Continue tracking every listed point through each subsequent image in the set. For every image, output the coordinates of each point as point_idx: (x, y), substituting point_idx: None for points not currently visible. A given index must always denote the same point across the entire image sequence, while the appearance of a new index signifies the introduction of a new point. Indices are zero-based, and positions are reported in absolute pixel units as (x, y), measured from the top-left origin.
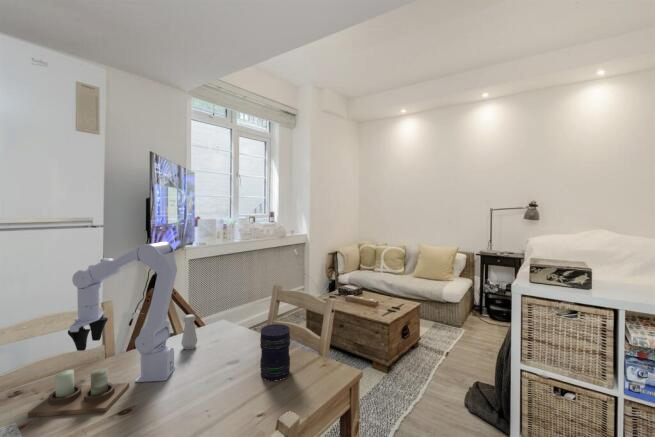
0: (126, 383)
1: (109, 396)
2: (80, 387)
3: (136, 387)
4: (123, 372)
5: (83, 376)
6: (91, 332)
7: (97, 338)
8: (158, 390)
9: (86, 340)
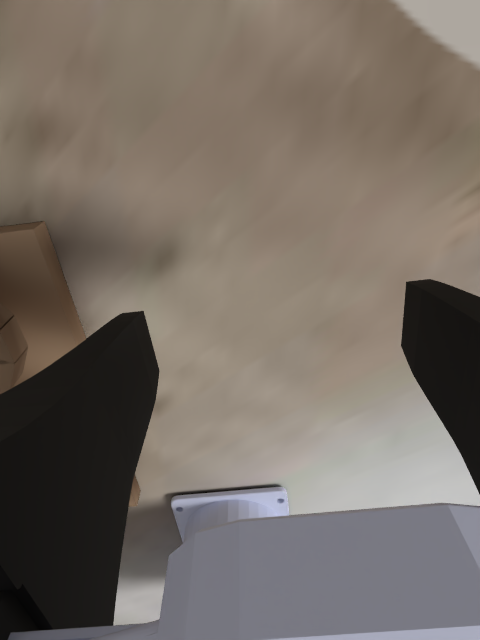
0: (130, 499)
1: None
2: (2, 391)
3: (140, 512)
4: (263, 407)
5: (213, 221)
6: (464, 321)
7: (412, 344)
8: (133, 573)
9: (127, 472)
